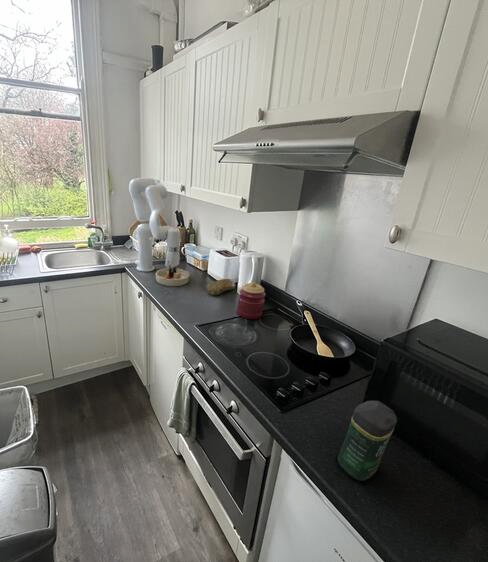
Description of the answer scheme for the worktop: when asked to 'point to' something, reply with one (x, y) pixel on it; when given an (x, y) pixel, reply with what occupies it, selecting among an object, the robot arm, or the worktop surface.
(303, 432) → the worktop surface
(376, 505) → the worktop surface
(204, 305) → the worktop surface
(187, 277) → the bowl
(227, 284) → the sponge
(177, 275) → the stick
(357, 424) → the coffee jar
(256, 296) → the kitchen canister
